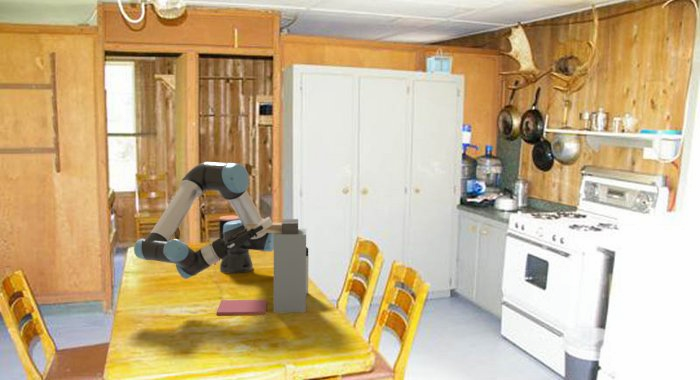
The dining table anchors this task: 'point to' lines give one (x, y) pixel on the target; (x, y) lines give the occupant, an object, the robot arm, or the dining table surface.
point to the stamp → (279, 227)
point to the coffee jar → (224, 220)
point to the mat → (242, 307)
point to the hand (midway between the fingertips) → (270, 220)
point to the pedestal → (290, 272)
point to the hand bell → (177, 233)
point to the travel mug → (306, 271)
